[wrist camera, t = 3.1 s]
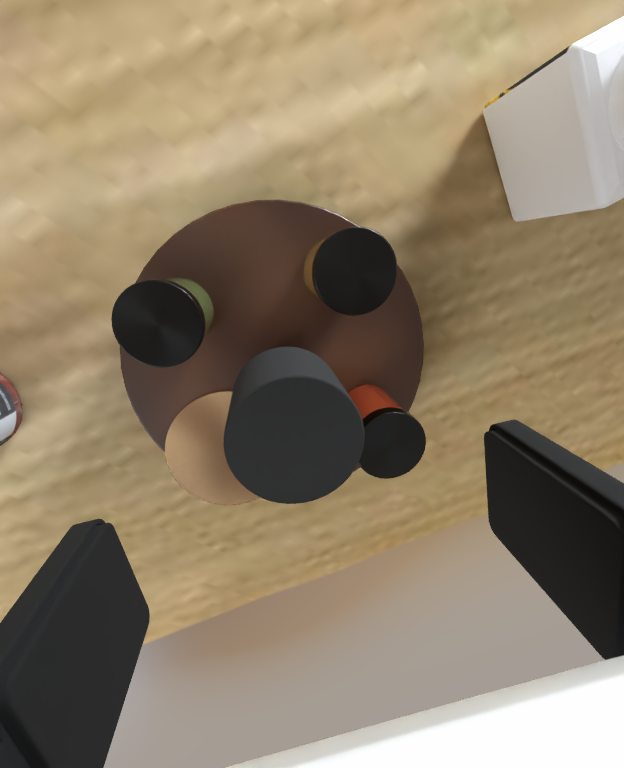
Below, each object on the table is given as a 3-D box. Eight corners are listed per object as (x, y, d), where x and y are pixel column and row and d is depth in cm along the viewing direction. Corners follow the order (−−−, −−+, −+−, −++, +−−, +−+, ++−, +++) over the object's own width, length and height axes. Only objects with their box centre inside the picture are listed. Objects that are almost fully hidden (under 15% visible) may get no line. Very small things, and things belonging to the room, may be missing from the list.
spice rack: (213, 130, 20) (155, -37, 9) (470, 307, 25) (643, 343, 13) (70, 431, 24) (-98, 580, 12) (316, 534, 28) (354, 709, 17)
